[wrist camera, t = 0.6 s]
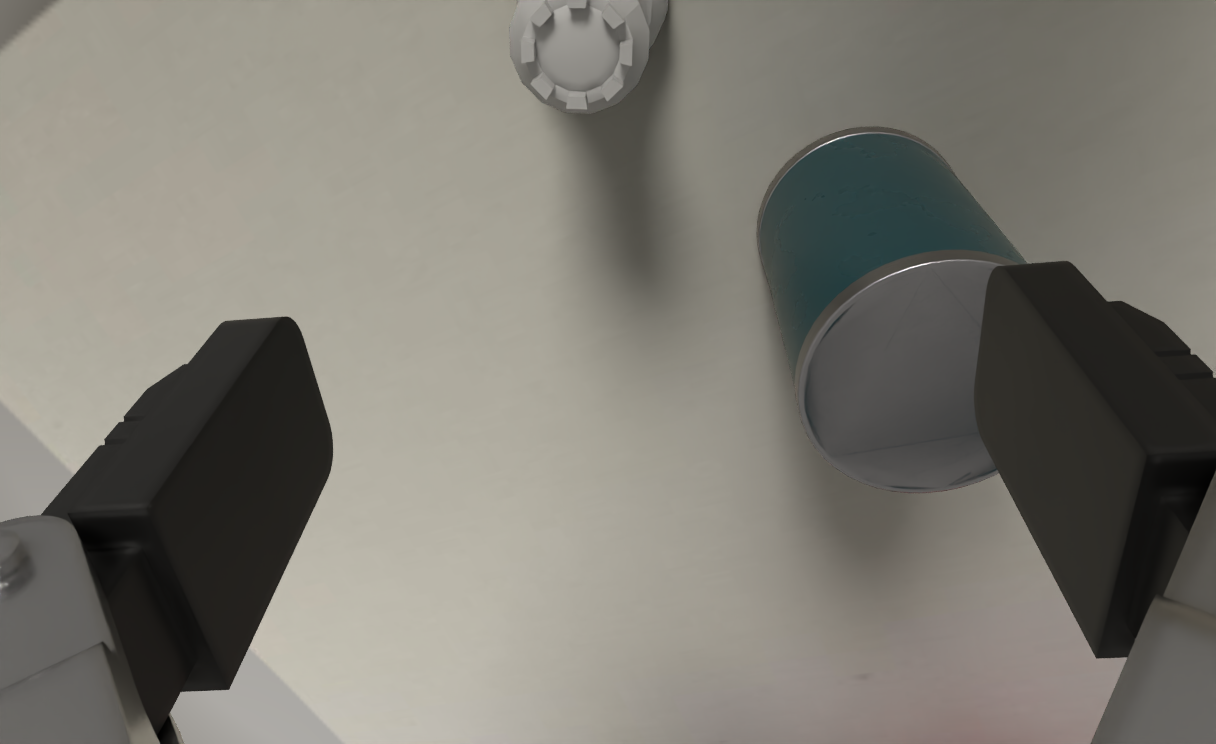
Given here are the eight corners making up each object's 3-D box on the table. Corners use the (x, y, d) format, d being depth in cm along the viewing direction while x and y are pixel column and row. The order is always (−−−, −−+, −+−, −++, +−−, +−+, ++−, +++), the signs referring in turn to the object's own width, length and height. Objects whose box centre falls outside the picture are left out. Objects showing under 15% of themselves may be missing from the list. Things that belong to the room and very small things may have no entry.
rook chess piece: (616, -129, 26) (606, -102, 19) (697, 14, 28) (714, 85, 21) (488, -35, 27) (435, 21, 21) (573, 95, 29) (551, 185, 22)
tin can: (769, 121, 29) (819, 252, 21) (982, 131, 29) (1120, 266, 21) (745, 309, 33) (780, 487, 24) (936, 318, 33) (1038, 500, 24)
